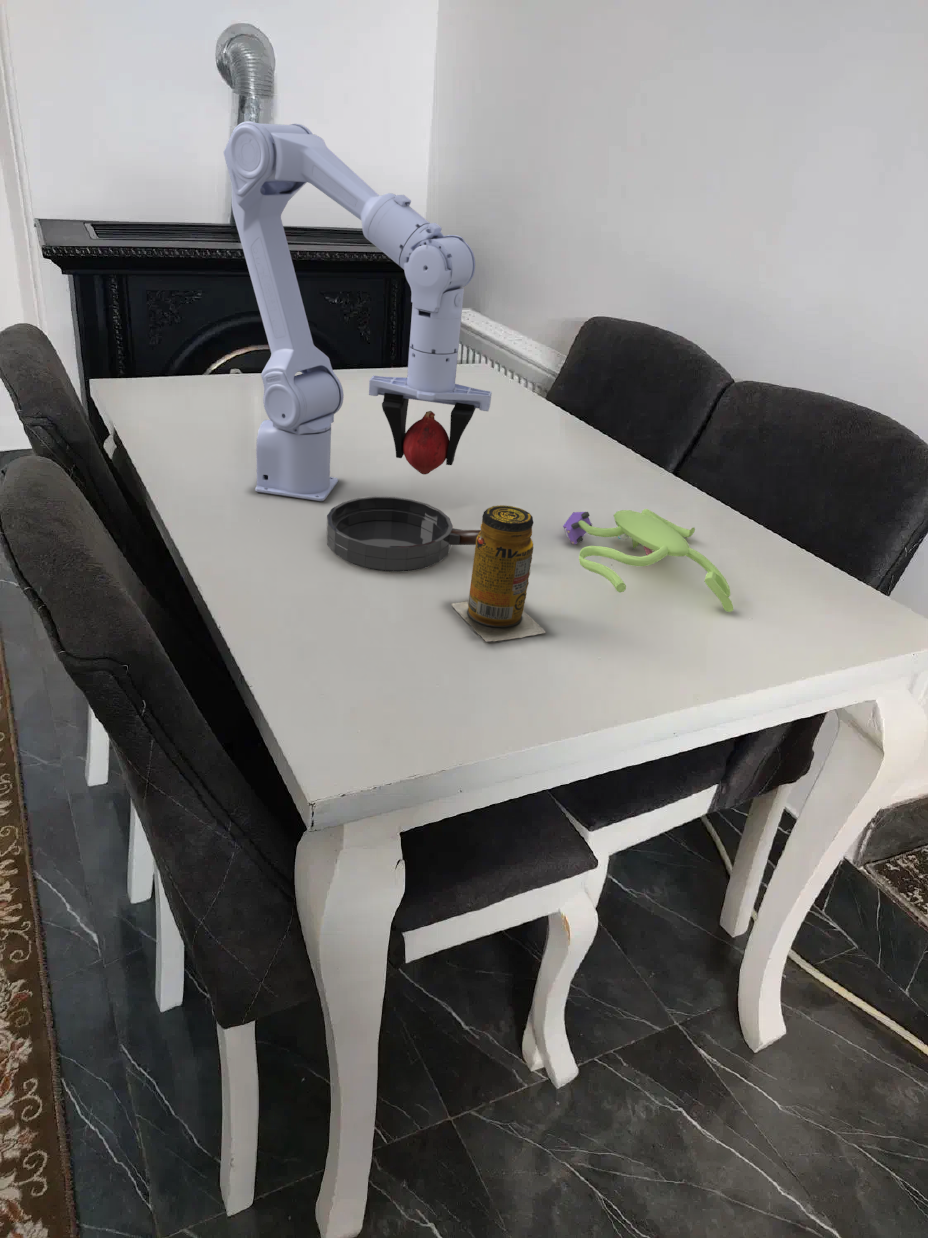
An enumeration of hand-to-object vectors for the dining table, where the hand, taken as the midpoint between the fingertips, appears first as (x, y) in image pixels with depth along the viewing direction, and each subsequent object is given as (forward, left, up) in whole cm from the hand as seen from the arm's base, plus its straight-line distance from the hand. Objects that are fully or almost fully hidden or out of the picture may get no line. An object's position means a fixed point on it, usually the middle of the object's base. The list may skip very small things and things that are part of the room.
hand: (424, 458), depth 114 cm
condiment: (+13, -21, -9) cm, 26 cm away
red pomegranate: (0, 0, -2) cm, 2 cm away
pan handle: (+9, -7, -8) cm, 14 cm away
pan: (-2, -7, -9) cm, 12 cm away
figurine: (+29, -3, -9) cm, 30 cm away
